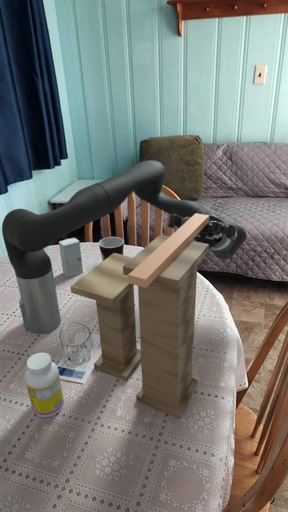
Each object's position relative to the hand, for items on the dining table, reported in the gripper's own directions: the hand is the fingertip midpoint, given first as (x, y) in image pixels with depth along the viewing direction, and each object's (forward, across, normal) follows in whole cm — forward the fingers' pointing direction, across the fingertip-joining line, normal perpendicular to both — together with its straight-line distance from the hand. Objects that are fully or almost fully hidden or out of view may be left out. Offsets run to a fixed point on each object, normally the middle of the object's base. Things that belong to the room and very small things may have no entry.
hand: (192, 222), depth 70 cm
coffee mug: (-45, +42, -15) cm, 63 cm away
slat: (+6, 0, -6) cm, 9 cm away
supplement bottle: (+4, +21, -44) cm, 49 cm away
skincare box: (-36, +52, -21) cm, 66 cm away
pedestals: (-10, +7, -36) cm, 38 cm away
